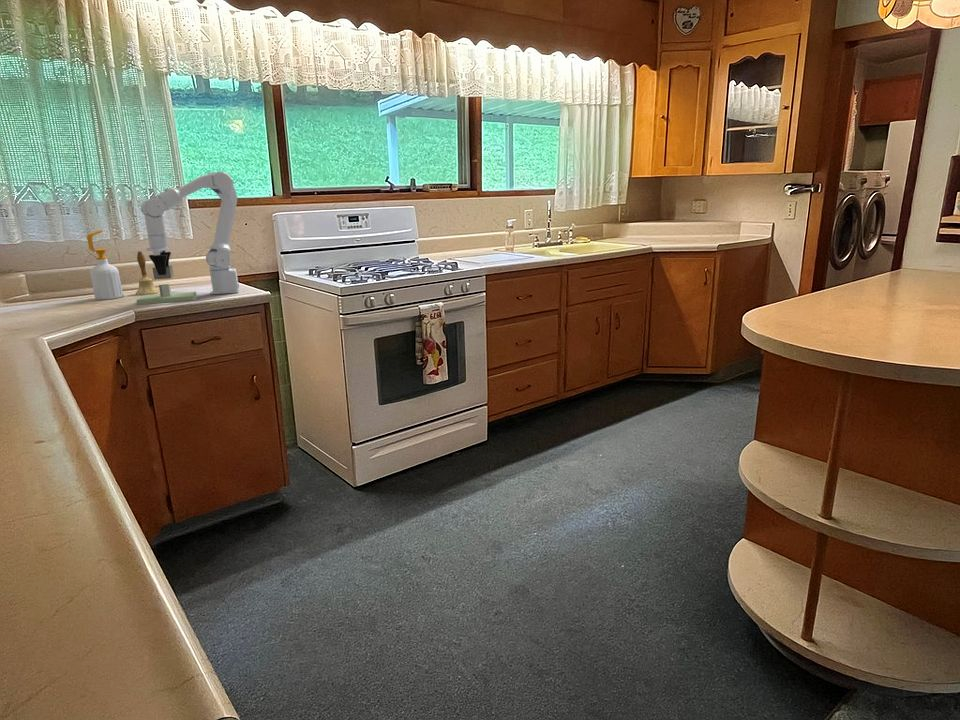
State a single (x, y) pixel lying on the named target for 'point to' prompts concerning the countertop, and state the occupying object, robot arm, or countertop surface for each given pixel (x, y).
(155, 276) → the collar
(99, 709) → the countertop surface
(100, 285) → the soap bottle
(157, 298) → the post board
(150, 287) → the hand bell
